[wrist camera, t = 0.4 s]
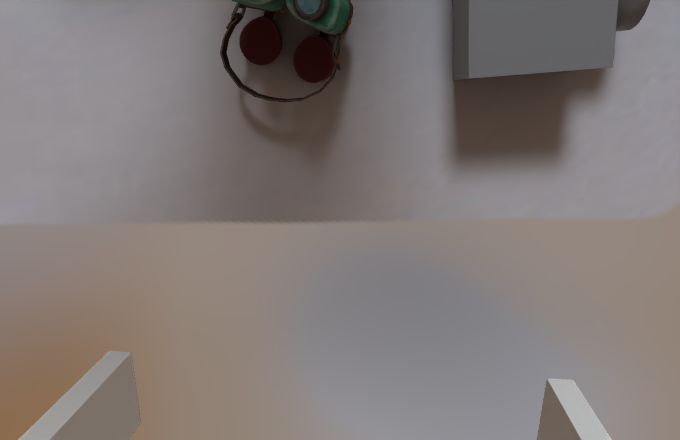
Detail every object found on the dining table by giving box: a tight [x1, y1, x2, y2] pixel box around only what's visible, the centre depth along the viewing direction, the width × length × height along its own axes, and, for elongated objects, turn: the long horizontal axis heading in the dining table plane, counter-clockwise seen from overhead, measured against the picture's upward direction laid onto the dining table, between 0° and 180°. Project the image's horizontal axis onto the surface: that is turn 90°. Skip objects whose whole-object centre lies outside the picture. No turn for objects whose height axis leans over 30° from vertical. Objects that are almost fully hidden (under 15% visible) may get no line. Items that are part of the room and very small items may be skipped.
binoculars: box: [220, 0, 353, 102], centre depth 32 cm, size 9×11×10 cm
